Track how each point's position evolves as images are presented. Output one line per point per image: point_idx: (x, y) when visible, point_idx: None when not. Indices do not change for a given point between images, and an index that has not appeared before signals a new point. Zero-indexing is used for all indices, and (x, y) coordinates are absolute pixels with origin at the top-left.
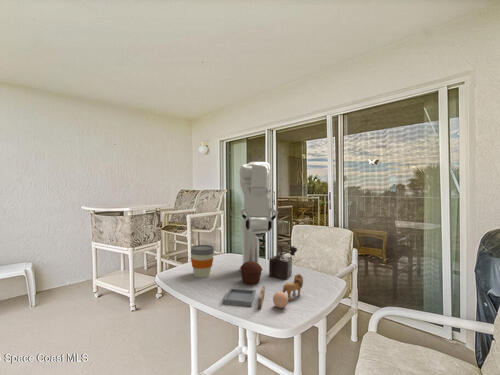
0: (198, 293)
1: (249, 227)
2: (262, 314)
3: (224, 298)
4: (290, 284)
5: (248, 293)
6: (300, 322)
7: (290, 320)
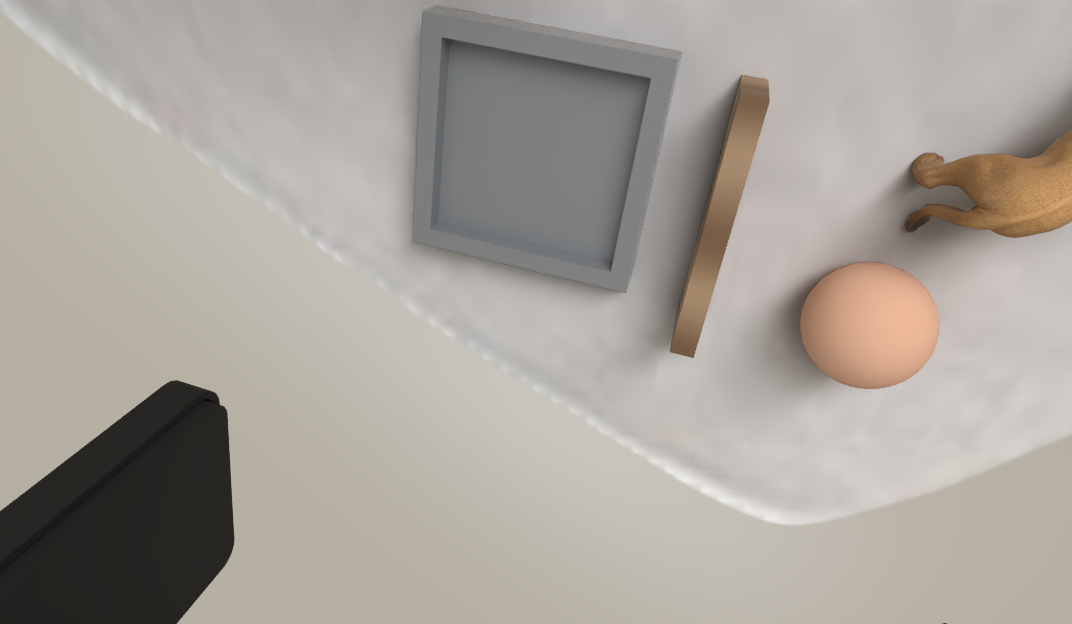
0: (201, 59)
1: (196, 438)
2: (699, 377)
3: (419, 231)
4: (1068, 219)
5: (608, 77)
6: (936, 478)
7: (875, 453)
